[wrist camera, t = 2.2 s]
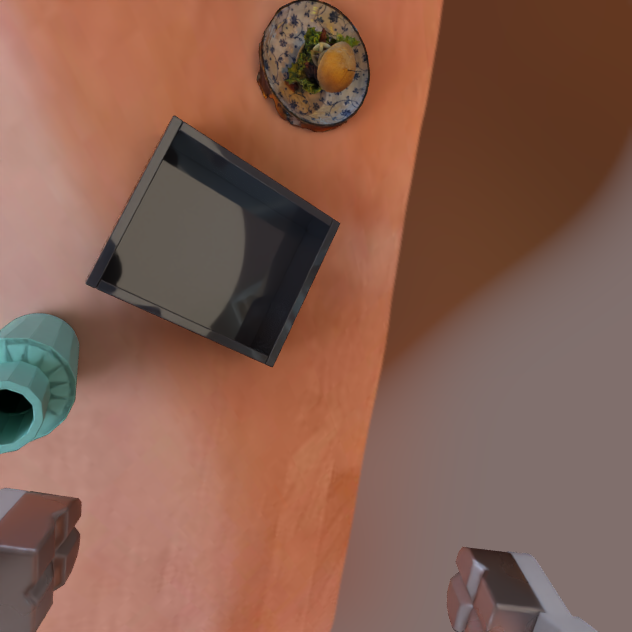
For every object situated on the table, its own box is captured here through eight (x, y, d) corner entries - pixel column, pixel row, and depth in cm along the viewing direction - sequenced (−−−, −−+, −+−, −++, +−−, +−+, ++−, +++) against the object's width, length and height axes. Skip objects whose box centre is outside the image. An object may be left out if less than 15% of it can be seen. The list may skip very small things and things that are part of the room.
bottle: (-19, 368, 38) (-110, 459, 20) (18, 301, 39) (-40, 332, 21) (58, 394, 41) (37, 496, 23) (91, 330, 41) (95, 381, 24)
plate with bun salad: (352, 8, 49) (394, -33, 42) (370, 127, 51) (412, 106, 45) (242, 6, 44) (269, -41, 38) (267, 137, 47) (297, 116, 40)
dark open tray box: (85, 281, 41) (84, 283, 35) (162, 134, 42) (174, 114, 37) (250, 355, 48) (272, 367, 42) (311, 227, 50) (340, 223, 44)
